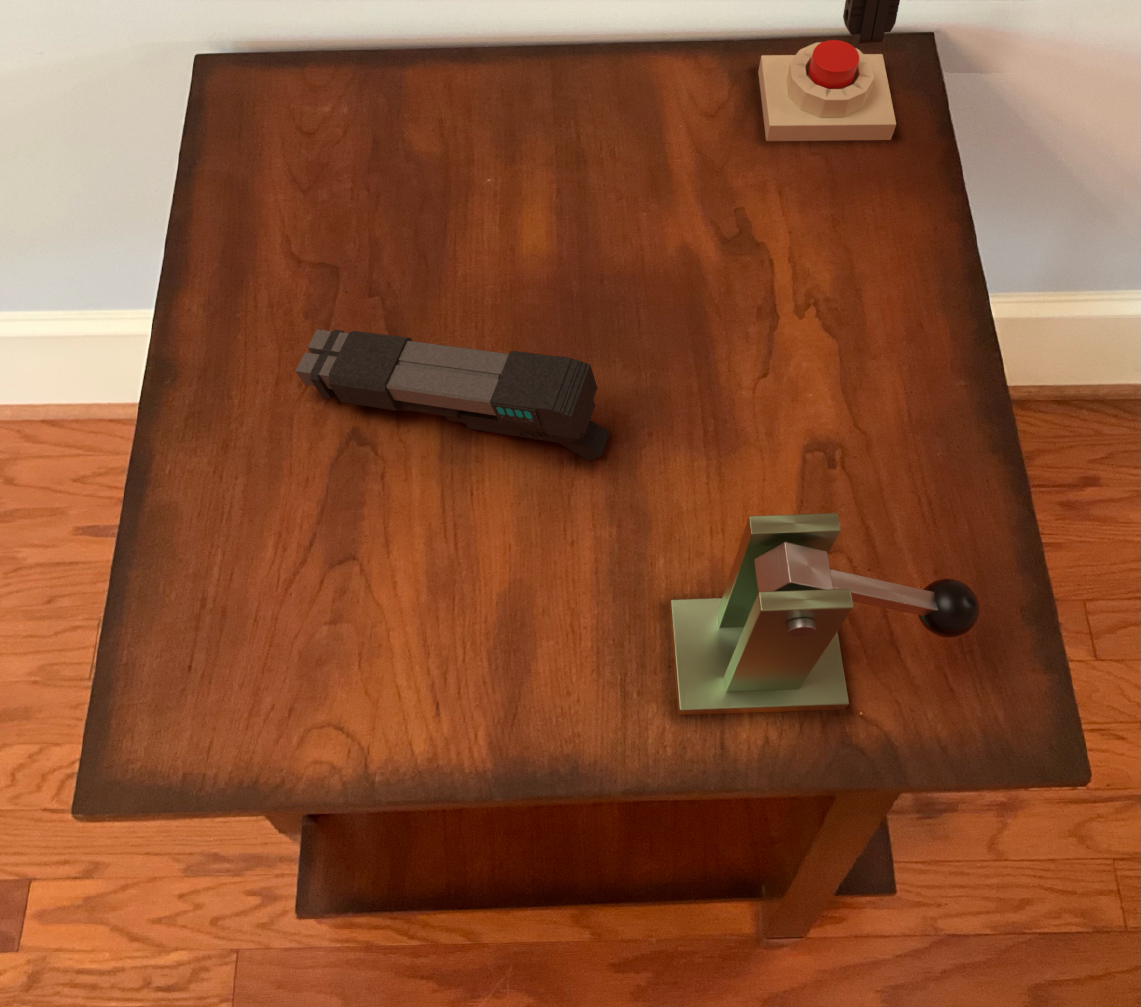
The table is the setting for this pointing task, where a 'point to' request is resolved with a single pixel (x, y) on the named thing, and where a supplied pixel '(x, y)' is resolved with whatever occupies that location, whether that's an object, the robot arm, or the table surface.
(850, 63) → the red button
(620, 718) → the table surface
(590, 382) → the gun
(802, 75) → the button box
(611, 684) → the table surface
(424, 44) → the table surface
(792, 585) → the switch lever
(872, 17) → the robot arm
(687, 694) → the switch bracket
